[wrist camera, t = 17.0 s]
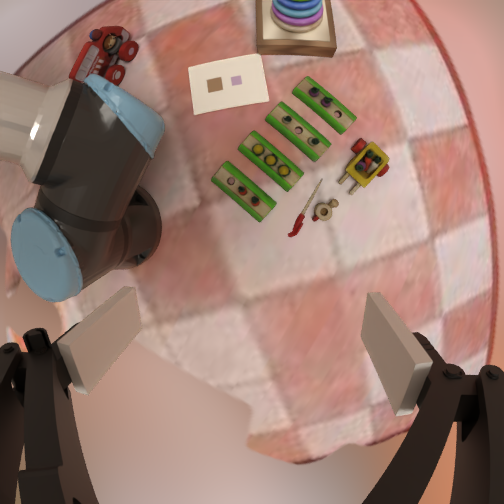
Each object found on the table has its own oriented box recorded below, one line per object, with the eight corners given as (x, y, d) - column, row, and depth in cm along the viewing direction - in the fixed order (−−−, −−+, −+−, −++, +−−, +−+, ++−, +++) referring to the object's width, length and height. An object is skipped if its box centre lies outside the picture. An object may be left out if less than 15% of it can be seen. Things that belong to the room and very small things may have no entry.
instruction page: (194, 115, 41) (194, 114, 41) (188, 67, 39) (187, 67, 39) (269, 101, 40) (269, 101, 39) (260, 53, 38) (260, 52, 37)
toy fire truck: (146, 38, 38) (120, 15, 28) (115, 95, 41) (82, 82, 31) (119, 34, 37) (91, 13, 27) (90, 88, 41) (56, 77, 31)
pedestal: (258, 55, 38) (256, 44, 34) (257, 2, 35) (255, -10, 30) (332, 57, 37) (337, 47, 33) (325, 4, 34) (329, -8, 29)
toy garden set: (306, 77, 39) (309, 67, 34) (393, 158, 41) (404, 156, 36) (212, 180, 44) (205, 180, 40) (301, 258, 46) (304, 267, 42)
